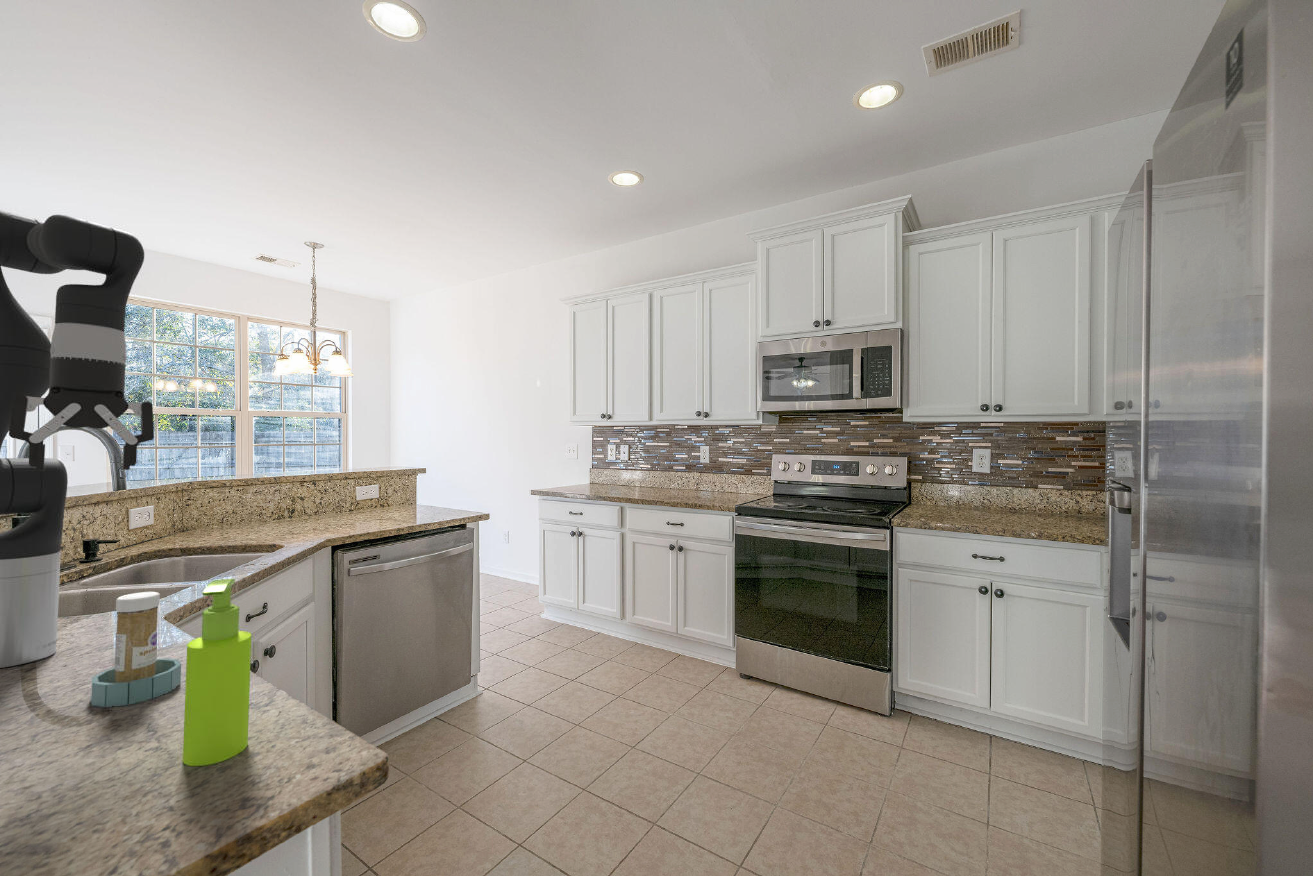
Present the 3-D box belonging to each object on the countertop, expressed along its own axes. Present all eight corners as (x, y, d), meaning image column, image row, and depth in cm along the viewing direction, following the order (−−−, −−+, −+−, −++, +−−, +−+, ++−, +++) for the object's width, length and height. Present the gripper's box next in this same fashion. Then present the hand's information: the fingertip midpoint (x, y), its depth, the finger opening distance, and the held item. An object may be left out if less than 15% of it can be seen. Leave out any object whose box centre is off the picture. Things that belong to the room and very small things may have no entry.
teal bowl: (73, 710, 72) (74, 688, 72) (117, 682, 81) (118, 662, 81) (158, 701, 75) (159, 680, 75) (192, 675, 83) (192, 655, 83)
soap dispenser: (171, 776, 58) (179, 590, 58) (191, 745, 64) (198, 577, 64) (239, 763, 61) (245, 585, 61) (252, 734, 67) (257, 572, 67)
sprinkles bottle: (152, 690, 77) (156, 596, 77) (107, 698, 74) (111, 600, 75) (159, 679, 81) (162, 589, 81) (117, 686, 78) (121, 593, 78)
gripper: (153, 367, 86) (149, 468, 86) (15, 354, 75) (9, 470, 75) (158, 363, 81) (154, 470, 80) (11, 348, 70) (5, 472, 70)
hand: (84, 470), depth 78 cm, fingers open, 8 cm apart
